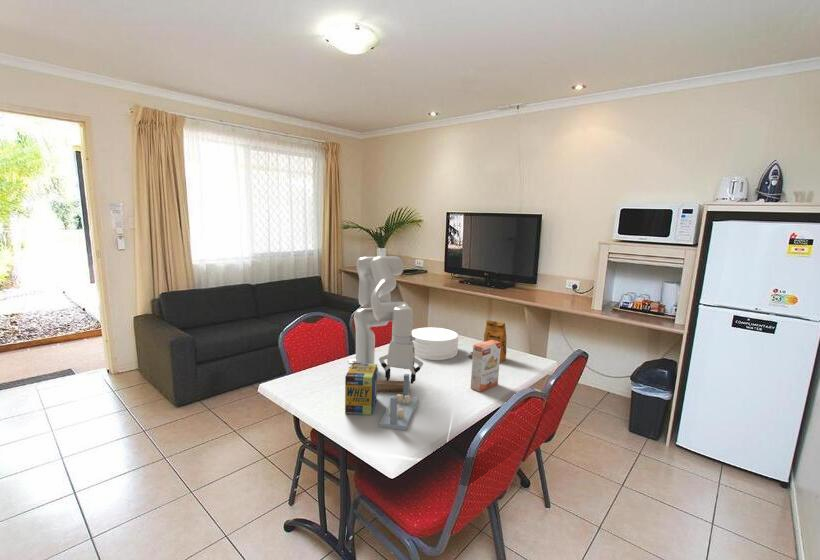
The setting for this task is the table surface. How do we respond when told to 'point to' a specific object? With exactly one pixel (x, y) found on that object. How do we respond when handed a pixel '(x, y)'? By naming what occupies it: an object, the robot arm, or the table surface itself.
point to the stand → (399, 409)
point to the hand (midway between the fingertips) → (400, 381)
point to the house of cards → (470, 356)
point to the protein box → (360, 389)
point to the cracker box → (485, 365)
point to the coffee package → (496, 335)
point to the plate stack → (435, 343)
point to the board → (390, 386)
